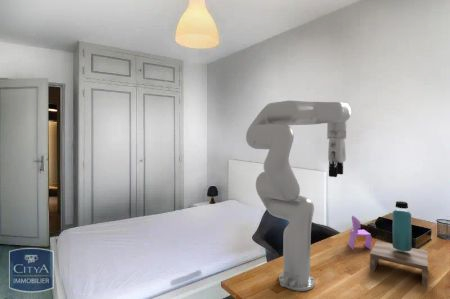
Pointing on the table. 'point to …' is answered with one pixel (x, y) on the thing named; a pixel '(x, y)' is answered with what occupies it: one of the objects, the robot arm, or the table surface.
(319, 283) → the table surface
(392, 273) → the table surface
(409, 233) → the beverage bottle
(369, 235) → the toy chair
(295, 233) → the robot arm
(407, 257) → the walnut shelf
